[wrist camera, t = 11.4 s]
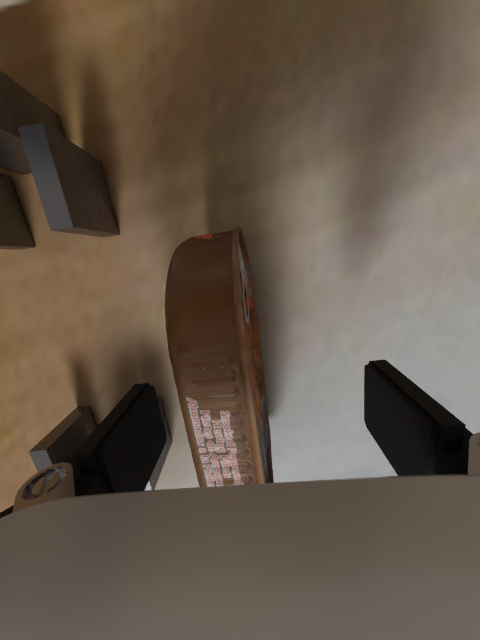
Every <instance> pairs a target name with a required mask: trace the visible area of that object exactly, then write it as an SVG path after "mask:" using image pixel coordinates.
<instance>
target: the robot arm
mask: <svg viewBox="0 0 480 640" xmlns="http://www.w3.org/2000/svg"><path fill="white" fill-rule="evenodd" d="M364 420H365V424H366V427H367V429H368V430H369V432H370V433H371V435H372V436H373V438H374V439H375V441H376V442H377V444H378V445H379V447H380V449H381V450H382V452H383V453H384V455H385V456H386V458H387V459H388V461H389V462H390V464H391V465H392V467H393V468H394V470H395V472H396V473H397V475H398V476H388V477H369V478H350V479H332V480H314V481H296V482H279V483H262V484H245V485H228V486H212V487H196V488H180V489H164V490H149V491H144V490H145V488H146V486H147V484H148V482H149V479H150V477H151V475H152V473H153V470H154V468H155V466H156V464H157V462H158V459H159V457H160V455H161V453H162V450H163V448H164V446H165V444H166V440H167V435H166V430H165V427H164V423H163V419H162V415H161V411H160V407H159V404H158V400H157V396H156V392H155V389H154V387H153V386H151V385H150V384H149V383H143V384H135V385H134V386H133V387H132V388H131V389H130V391H129V392H128V393H127V394H126V395H125V396H124V397H123V399H122V400H121V401H120V402H119V403H118V404H117V405H116V406H115V408H114V409H113V410H112V411H111V412H110V413H109V414H108V416H107V417H106V418H105V419H104V420H103V421H102V422H101V423H100V425H99V426H98V427H97V428H96V429H95V430H94V431H93V433H92V434H91V435H90V436H89V437H88V438H87V439H86V440H85V442H84V443H83V444H82V445H81V446H80V447H79V448H78V450H77V451H76V452H75V453H74V454H73V455H74V457H75V461H74V462H73V463H72V464H69V463H57V464H54V465H51V466H49V467H46V468H45V469H43V470H41V471H39V472H38V473H36V474H35V475H34V476H32V477H31V478H30V479H29V480H27V481H26V482H25V483H24V484H23V485H22V487H21V488H20V489H19V491H18V492H17V495H16V497H15V502H14V505H13V506H11V507H10V508H8V509H6V510H4V511H3V512H1V513H0V640H480V433H476V434H474V435H473V434H472V433H471V432H470V431H469V430H467V429H466V428H465V424H464V423H462V422H461V421H460V420H459V419H457V418H456V417H455V416H454V415H453V414H451V413H450V412H449V411H448V410H446V409H445V408H444V407H443V406H441V405H440V404H439V403H438V402H437V401H435V400H434V399H433V398H432V397H430V396H429V395H428V394H427V393H425V392H424V391H423V390H422V389H421V388H419V387H418V386H417V385H416V384H414V383H413V382H412V381H411V380H410V379H408V378H407V377H406V376H405V375H403V374H402V373H401V372H400V371H398V370H397V369H396V368H395V367H394V366H392V365H391V364H390V363H389V362H387V361H386V360H376V361H370V362H369V364H368V365H365V377H364Z"/></svg>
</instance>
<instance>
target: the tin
mask: <svg viewBox="0 0 480 640" xmlns="http://www.w3.org/2000/svg"><path fill="white" fill-rule="evenodd" d="M165 317H166V331H167V340H168V349H169V356H170V361H171V365H172V369H173V374H174V379H175V383H176V387H177V392H178V397H179V401H180V405H181V410H182V414H183V418H184V422H185V427H186V431H187V435H188V441H189V444H190V448H191V452H192V457H193V461H194V465H195V469H196V473H197V478H198V482H199V486H200V487H212V486H228V485H245V484H262V483H274V482H273V469H272V457H271V439H270V427H269V418H268V410H267V401H266V391H265V383H264V374H263V366H262V357H261V349H260V340H259V331H258V323H257V314H256V306H255V298H254V291H253V285H252V277H251V270H250V264H249V258H248V253H247V249H246V244H245V240H244V237H243V233H242V230H241V228H240V227H237V228H235V229H234V230H233V231H228V232H222V233H215V234H208V235H201V236H196V237H191V238H189V239H187V240H185V241H184V242H183V243H182V244H180V245H179V246H178V248H177V249H176V250H175V252H174V254H173V256H172V259H171V262H170V265H169V270H168V275H167V282H166V292H165Z"/></svg>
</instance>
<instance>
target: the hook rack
mask: <svg viewBox="0 0 480 640" xmlns="http://www.w3.org/2000/svg"><path fill="white" fill-rule="evenodd" d="M0 167H1V168H4V169H7V170H10V171H12V172H15V173H18V174H21V175H22V174H28V173H32V174H33V177H34V180H35V183H36V186H37V189H38V192H39V195H40V198H41V201H42V205H43V208H44V211H45V214H46V217H47V220H48V223H49V226H50V229H51V231H58V232H66V233H74V234H82V235H90V236H99V237H107V236H114V235H120V234H119V230H118V226H117V222H116V218H115V214H114V210H113V206H112V203H111V199H110V195H109V191H108V187H107V183H106V179H105V175H104V171H103V167H102V163H101V161H99V160H98V159H96V158H95V157H93V156H92V155H90V154H89V153H87V152H86V151H84V150H83V149H81V148H80V147H78V146H77V145H75V144H73V143H72V142H70V141H69V140H67V139H66V138H65V136H64V132H63V129H62V125H61V122H60V118H59V115H58V114H57V113H56V112H54V111H53V110H52V109H50V108H49V107H48V106H46V105H45V104H44V103H43V102H41V101H40V100H39V99H37V98H36V97H35V96H33V95H32V94H31V93H29V92H28V91H27V90H25V89H24V88H23V87H21V86H20V85H19V84H17V83H16V82H15V81H14V80H12V79H11V78H10V77H8V76H7V75H6V74H4V73H3V72H2V71H0ZM33 247H35V245H34V242H33V239H32V236H31V233H30V230H29V227H28V225H27V222H26V219H25V216H24V213H23V210H22V207H21V204H20V201H19V198H18V196H17V193H16V190H15V187H14V184H13V181H12V178H11V176H8V175H5V174H2V173H0V249H26V248H33ZM157 400H158V404H159V407H160V411H161V415H162V419H163V423H164V427H165V430H166V435H167V440H166V444H165V446H164V448H163V450H162V453H161V455H160V457H159V459H158V462H157V464H156V466H155V468H154V470H153V473H152V475H151V477H150V479H149V482H148V484H147V486H146V488H145V490H144V491H149V490H154V489H155V487H156V484H157V481H158V479H159V476H160V473H161V471H162V468H163V465H164V463H165V460H166V457H167V454H168V452H169V449H170V446H171V444H172V440H171V436H170V432H169V428H168V424H167V420H166V416H165V412H164V408H163V404H162V400H161V398H157ZM96 428H97V425H96V422H95V419H94V416H93V413H92V410H91V407H90V406H86V407H77V408H76V409H75V410H74V411H72V412H71V413H70V414H69V415H68V416H67V417H66V418H65V419H64V420H63V421H62V422H61V423H59V424H58V425H57V426H56V427H55V428H54V429H53V430H52V431H51V432H50V433H49V434H48V435H47V436H45V437H44V438H43V439H42V440H41V441H40V442H39V443H38V444H37V445H36V446H35V447H34V448H32V449H31V450H30V451H29V453H30V455H31V458H32V460H33V462H34V464H35V467H36V469H37V471H38V472H39V471H41V470H43V469H45V468H46V467H49V466H51V465H54V464H57V463H69V464H72V463H73V462H74V461H75V457H74V455H73V454H74V453H75V452H76V451H77V450H78V448H79V447H80V446H81V445H82V444H83V443H84V442H85V440H86V439H87V438H88V437H89V436H90V435H91V434H92V433H93V431H94V430H95V429H96Z"/></svg>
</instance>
